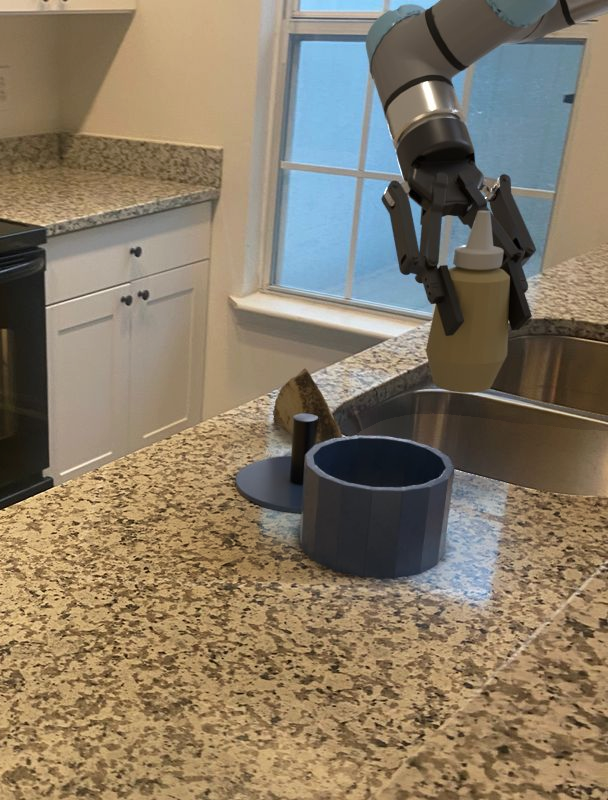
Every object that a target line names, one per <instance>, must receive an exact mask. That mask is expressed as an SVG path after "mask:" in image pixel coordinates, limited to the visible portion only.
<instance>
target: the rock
mask: <svg viewBox="0 0 608 800" xmlns="http://www.w3.org/2000/svg"><path fill="white" fill-rule="evenodd" d="M273 408H274V409H273V411H272V416H273V417H272V420H273V424H274V425H276V426H278V427H280V428H281V429H283V430H284V431H286V432H288V433H290V434H291V435H292V432H293V417H294V416H295V415H297V414H302V413H306V414H313V415H315V416H317V418H318V422H317V436H316V444H319V443H322V442H325V441H327V440H330V439H333V438H341V437H343V435H342V431H341V430H340V426H339V425H338V423H337V421H336V418H334V415H333V414H332V411H331V409H330V407H329V404H328V402H327V401H326V399H325V397H324V395H323V392H322V391H321V390H320V389H319V386H318V385H317V383H316V382H315V380H314V378H313V377H312V375H311V374H310V372H309V370H308V369H307V367H304V368H303V369H302V370H301V371H300V372H299V373H298V374H296V375H295V376H293V377H291V378H290V379H289V380H288V381H287V382H286V383H285V384H284V385H283V386H282V387H280V390H279V392H278V394H277V396H276V398H275V401H274V406H273Z"/></svg>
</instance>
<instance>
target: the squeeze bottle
mask: <svg viewBox="0 0 608 800" xmlns="http://www.w3.org/2000/svg"><path fill="white" fill-rule="evenodd" d="M490 212H491V210H490V211H478V212H477V215H476V218H475V221H474V224H473V226H472V229H470V233H469V236H468V238H467V242H466V244H465V245H460V246H456V247H455V248H454V252H453V259H452V265H453V266H452V267H448V269H449V272H450V276H451V279H452V282H453V286H454V289H455V292H456V296H457V299H458V302H459V305H460V309H461V312H462V315H463V319H464V323H463V324H462V325H461V326H460V327H459V328H458V330H457V331H456V332H455V333H454V334H453V335H452V336H446V335H445V332H444V328H443V325H442V322H441V318H440V315H439V312H438V308H437V305H436V304H435V306H434V309H433V310H434V311H433V315H432V320H431V325H430V329H429V334H428V338H427V344H426V346H425V347H426V348H425V354H426V357H427V362H428V366H429V370H430V371H429V372H430V374H431V379H432V383H433V385H434V386H435V387H437V388H439V389H441V390H443V391H444V390H445V391H448V392H453V393H460V394H461V393H462V394H475V393H482V392H483V393H484V392H487V391H488V390H490V389H491V388H492V386H493V384H494V382H495V380H496V378H497V376H498V374H499V372H500V370H501V369H502V366H503V364H504V362H505V361H506V358H507V357H508V352H509V351H508V349H509V347H508V346H509V320H508V319H509V293H510V276H509V275H508V274H507V273H506V272H505V271H504V270H502V269H500V268H499V267H501V265H502V260H503V253H504V250H503V249H502V248H499V247H495V246H493V237H492V226H491V215H490Z"/></svg>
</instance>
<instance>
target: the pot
mask: <svg viewBox="0 0 608 800" xmlns="http://www.w3.org/2000/svg"><path fill="white" fill-rule="evenodd" d="M455 471H456V469H455V466H454V464H453V462H452V460H451V458H450V456H448V455H447V454H445V453H443V451H440V450H438V449H437V448H435V447H433V446H430V445H427V444H423V443H421V442H417V441H414V440H412V439H406V438H400V437H393V436H386V435H356V434H355V435H349V436H342V437H341V438H333V439H330V440H327V441H325V442H322V443H319V444H316V445H314V446H313V447H312V448H311V449H310V450H309V451H308V452H307V453H306V454H305V462H304V478H303V494H302V509H301V513H300V528H299V542H300V549H301V551H303V552H304V553H305V555H306V556H308V558H310V559H311V560H312V561H313V562H314V563H316V564H318V565H321V566H323V567H325V568H327V569H329V570H331V571H333V572H336V573H341V574H346V575H349V576H355V577H358V578H364V579H395V580H396V579H400V578H401V579H402V578H405V577H411V576H419V575H421V574H422V573H425V572H428V571H429V570H431V569H433V568H435V567H437V566H438V565H439V564H440V561H441V559H442V558H443V556H444V553H445V547H446V539H447V531H448V523H449V515H450V509H451V508H450V507H451V500H452V493H453V485H454V478H455Z"/></svg>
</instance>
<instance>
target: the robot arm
mask: <svg viewBox="0 0 608 800" xmlns="http://www.w3.org/2000/svg"><path fill="white" fill-rule="evenodd" d="M607 14H608V0H438V1H437V2H436V3H435V4H432V6H430V7H429V8H427V9H426V8H424V7H423V6H421V5H418V4H413V3H409V4H408V3H406V4H402V5H399V7H398V8H397V9H394V10H392V9H388V10H386V11H385V12H384V13H382V14H381V15H380V16H379V17H378V18H376V19H375V21H374V22H373V23H372V25H371V26H370V27H369V30H368V32H367V34H366V38H365V49H366V55H367V59H368V65H369V66H368V67H369V73H370V77H371V79H372V80H373V83H374V85H375V89H376V93H377V95H378V98H379V101H380V104H381V109H382V110H383V114H384V118H385V121H386V123H387V124H386V125H387V127H388V131H389V135H390V138H391V141H392V144H393V148H394V151H395V156H396V160H397V163H398V167H399V170H400V173H401V177H402V179H403V181H404V182H400V181H398V180H391V181H390V182H389V184H388V186H387V187H386V189H385V191H384V193H383V194H382V196H381V203H382V204H383V206H384V207H385V209H386V211H387V213H388V214H389V219H390V224H391V231H392V235H393V241H394V246H395V253H396V257H397V263H398V268H399V272H400V273H401V274H402V275H403V276H409V275H411V274H412V275H415V276H414V280H415V281H416V282H417V283H418V284H422V285H423V288H424V292H425V295H426V299H427V301H428V302H429V304H430V305H435V306H436V305H437V308H438V312H439V315H440V318H441V322H442V325H443V328H444V332H445V335H446V336H452V335H453V334H454V333H455V332H456V331H457V330H458V328H459V327H460V326H461V325H462V324H463V323H464V319H463V315H462V312H461V309H460V305H459V302H458V299H457V296H456V292H455V289H454V286H453V282H452V279H451V276H450V272H449V266H448V264H443V265H439V262H440V261H439V260H440V249H441V235H442V223H443V222H442V221H443V217H446V216H452V217H457V218H458V220H460V222H461V223H462V224H463V225H464V226H468V228H469V229H470V230H471V229H472V226H473V224H474V221H475V218H476V215H477V212H478V211H490V215H491V226H492V237H493V246H495V247H499V248H502V249H503V250H504V253H503V260H502V265H501V267H499V268H500V269H502V270H504V271H505V272H506V273H507V274H508V275H509V276H510V293H509V319H508V320H509V322H508V324H509V326H510V329H511V331H520V329H521V328H522V327H523V326H524V325H525V324H526V323H527V322H528V321H529V320H530V319H531V318H532V317H533V314H532V311H531V308H530V305H529V302H528V299H527V296H526V293H527V291H529V283H528V280H527V277H526V274H525V271H524V268H523V267H524V265H526V264H527V263H528V262H529V261H530V259H531V258H532V256H533V255H534V254H535V253H536V252H537V248H536V245H535V243H534V241H533V238H532V236H531V234H530V232H529V229H528V227H527V224H526V222H525V221H524V218H523V216H522V213H521V211H520V209H519V206H518V205H517V202H516V200H515V197H514V195H513V192H512V180H511V177H510V175H508V174H505V173H502V174H500V176H499V177H498V178H491V177H485V175H484V173H483V172H482V170H481V169H479V167H478V166H477V163H476V153H475V148H474V145H473V142H472V139H471V136H470V133H469V128H468V127H467V125H466V124H465V123H466V122H465V117H464V113H463V110H462V107H461V105H460V102H459V99H458V96H457V93H456V90H455V87H454V84H453V81H452V79H453V78H454V77H456V76H457V75H458V74H460V73H461V72H463V71H465V70H466V69H468V68H469V67H470V66H472V65H473V64H474V63H476V62H478V61H479V60H480V59H482V58H484V57H485V56H487V55H489V53H491V52H492V51H494V50H495V49H498V48H499V47H500V46H503V45H512V44H514V45H525V44H529V43H533V42H536V41H539V40H541V39H543V38H544V37H546V36H547V35H549V34H553V33H555V32H558V31H561V30H564V29H567V28H570V27H571V26H575V25H578V24H580V23H583V22H587V21H590V20H592V19H594V18H598V17H601V16H604V15H607ZM482 192H483V193H484V195H483V193H482ZM410 199H411V200H412V201H413V202H414V203H415V204H417V205H418V206H419V207H420V208H421V210H420V219H419V220H420V221H419V225H420V226H421V228H420V240H419V243H418V239H417V238H418V237H417V232H416V229H415V228H416V227H415V223H414V217H413V212H412V207H411V201H410ZM488 203H489V207H490V209H489V207H488ZM438 265H439V266H438Z"/></svg>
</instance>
